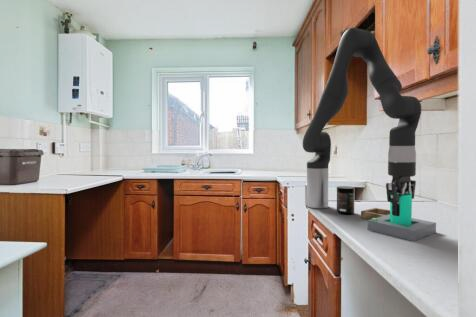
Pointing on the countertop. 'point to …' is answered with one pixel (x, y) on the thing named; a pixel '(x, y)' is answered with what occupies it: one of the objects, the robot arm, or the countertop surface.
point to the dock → (402, 228)
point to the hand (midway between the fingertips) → (400, 214)
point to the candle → (403, 211)
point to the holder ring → (374, 213)
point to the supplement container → (345, 200)
